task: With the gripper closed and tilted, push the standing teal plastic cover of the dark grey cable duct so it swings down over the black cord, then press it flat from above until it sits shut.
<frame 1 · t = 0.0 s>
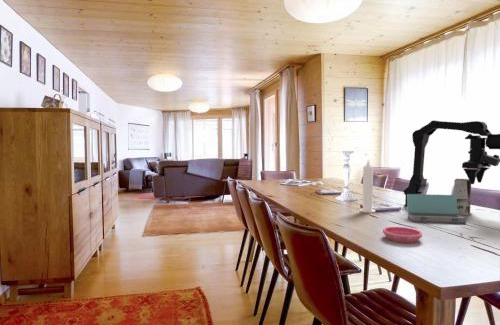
hand: (476, 183, 152), 15 cm above the table, tool pointing down, fingers open, 9 cm apart
candle: (367, 211, 162), on the table
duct: (435, 220, 143), on the table
duct cover: (431, 203, 147), point 6 cm above the table, hinge at 100.0°, touching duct
coffee box: (461, 213, 157), on the table
saucer: (401, 240, 116), on the table
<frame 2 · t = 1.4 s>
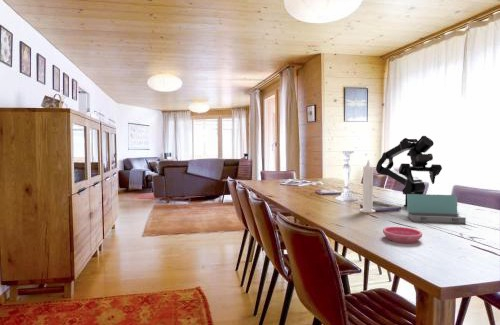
hand: (423, 183, 161), 14 cm above the table, tool tilted 40°, fingers open, 9 cm apart
coffee box: (456, 206, 158), point 3 cm above the table
everything else where it was.
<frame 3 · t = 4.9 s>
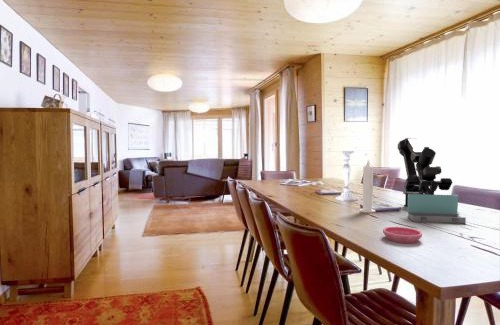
hand: (432, 198, 147), 9 cm above the table, tool tilted 45°, fingers closed, pressing on duct cover
duct cover: (432, 203, 146), point 7 cm above the table, hinge at 88.2°, touching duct, gripper
everything else where it was.
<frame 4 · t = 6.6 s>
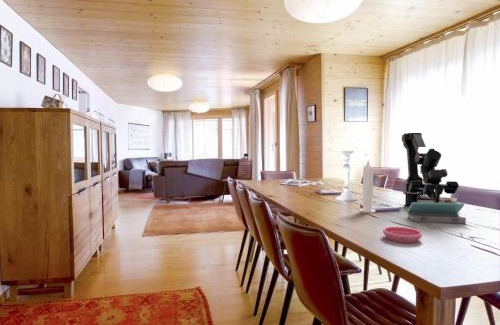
hand: (437, 203, 140), 8 cm above the table, tool tilted 45°, fingers closed, pressing on duct cover
duct cover: (434, 207, 143), point 5 cm above the table, hinge at 37.7°, touching gripper
everything else where it was.
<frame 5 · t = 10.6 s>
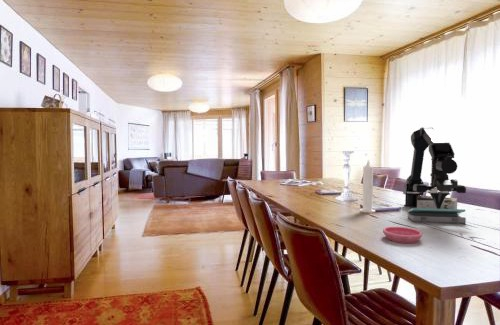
hand: (438, 208, 140), 6 cm above the table, tool pointing down, fingers closed, pressing on duct cover
duct cover: (435, 210, 143), point 4 cm above the table, hinge at 18.4°, touching gripper
everything else where it was.
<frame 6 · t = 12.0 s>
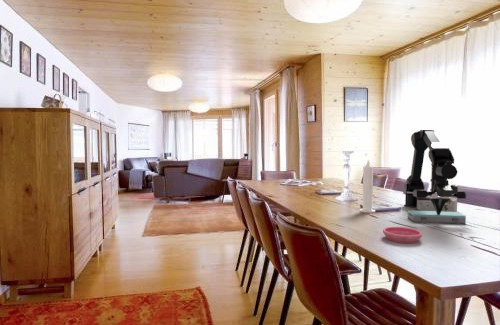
hand: (438, 214, 139), 3 cm above the table, tool pointing down, fingers closed, pressing on duct cover
duct cover: (435, 213, 142), point 3 cm above the table, hinge at -0.1°, touching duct, gripper
everything else where it was.
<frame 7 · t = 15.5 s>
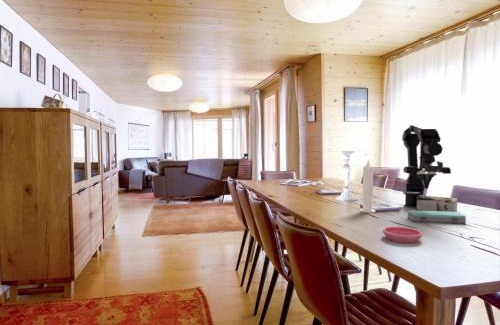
hand: (426, 188, 155), 12 cm above the table, tool pointing down, fingers closed
duct cover: (435, 213, 142), point 3 cm above the table, hinge at 0.0°, touching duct
everything else where it was.
at the end: duct cover at +0° (first picture: +100°); the gripper is holding nothing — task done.
